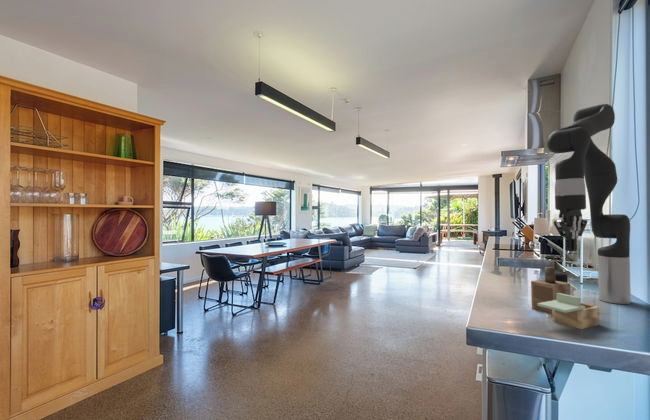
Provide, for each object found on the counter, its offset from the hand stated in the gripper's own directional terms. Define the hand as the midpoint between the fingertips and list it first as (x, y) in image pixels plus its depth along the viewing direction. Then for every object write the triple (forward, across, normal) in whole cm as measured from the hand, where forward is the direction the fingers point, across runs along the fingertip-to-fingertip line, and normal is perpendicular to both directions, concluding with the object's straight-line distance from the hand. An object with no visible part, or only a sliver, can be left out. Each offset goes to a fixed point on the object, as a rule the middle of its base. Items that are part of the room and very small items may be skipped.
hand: (571, 250), depth 99 cm
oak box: (+23, -1, 0) cm, 23 cm away
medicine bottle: (+23, -19, -16) cm, 34 cm away
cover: (+23, -7, -11) cm, 26 cm away
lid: (+16, +6, 0) cm, 17 cm away
